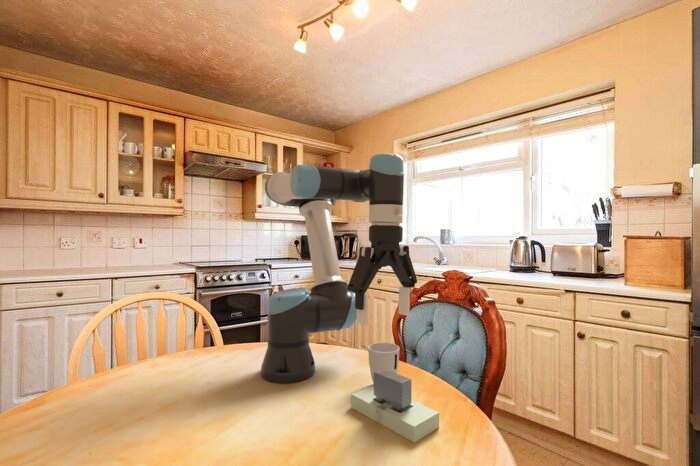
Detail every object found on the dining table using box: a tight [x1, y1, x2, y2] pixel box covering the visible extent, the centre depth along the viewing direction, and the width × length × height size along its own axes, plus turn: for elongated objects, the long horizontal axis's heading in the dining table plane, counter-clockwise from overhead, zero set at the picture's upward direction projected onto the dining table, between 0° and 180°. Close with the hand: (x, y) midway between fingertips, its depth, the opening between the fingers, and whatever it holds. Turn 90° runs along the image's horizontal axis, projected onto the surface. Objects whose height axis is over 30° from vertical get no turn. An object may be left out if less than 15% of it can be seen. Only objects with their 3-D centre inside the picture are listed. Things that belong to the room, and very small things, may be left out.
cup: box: [367, 342, 400, 384], centre depth 90 cm, size 8×8×10 cm
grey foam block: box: [373, 369, 412, 413], centre depth 74 cm, size 8×3×9 cm, turn 42°
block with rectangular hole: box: [350, 384, 440, 443], centre depth 75 cm, size 18×8×3 cm, turn 41°
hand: (384, 319), depth 78 cm, fingers open, 13 cm apart
